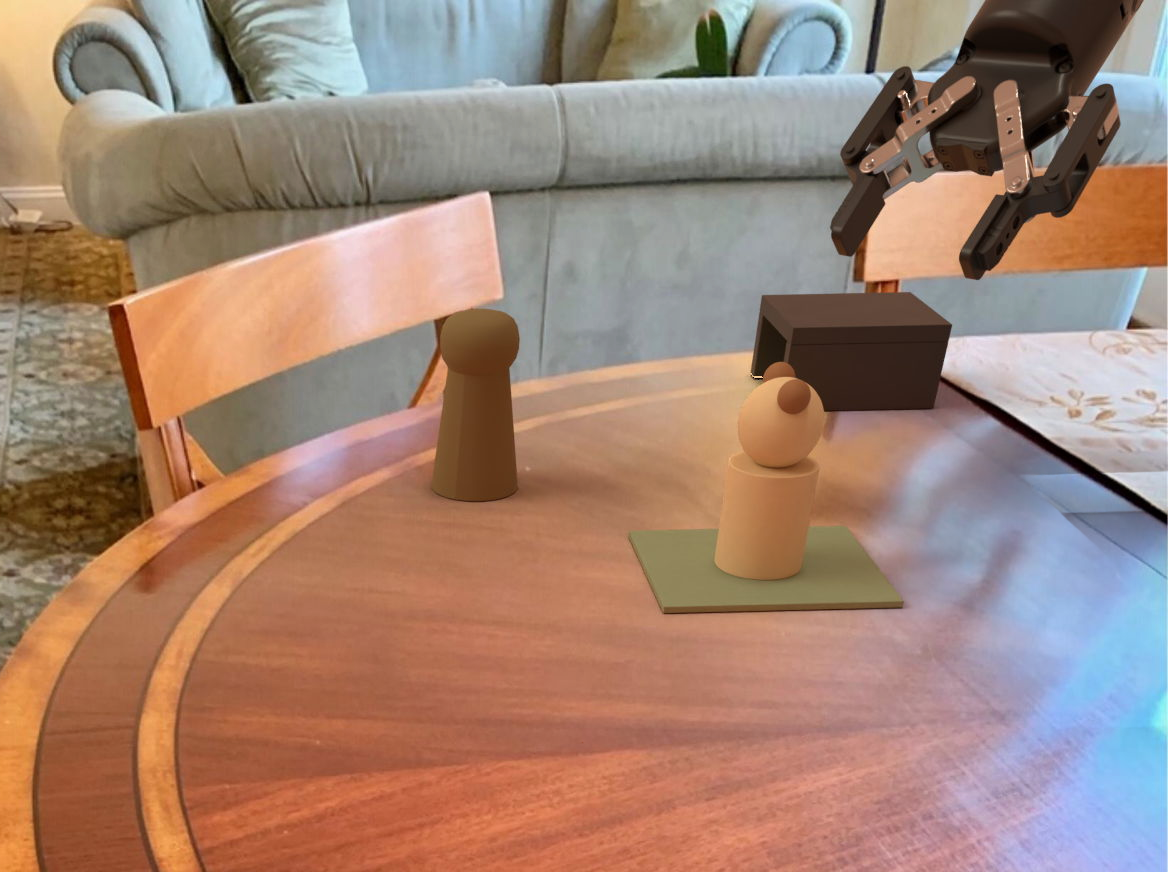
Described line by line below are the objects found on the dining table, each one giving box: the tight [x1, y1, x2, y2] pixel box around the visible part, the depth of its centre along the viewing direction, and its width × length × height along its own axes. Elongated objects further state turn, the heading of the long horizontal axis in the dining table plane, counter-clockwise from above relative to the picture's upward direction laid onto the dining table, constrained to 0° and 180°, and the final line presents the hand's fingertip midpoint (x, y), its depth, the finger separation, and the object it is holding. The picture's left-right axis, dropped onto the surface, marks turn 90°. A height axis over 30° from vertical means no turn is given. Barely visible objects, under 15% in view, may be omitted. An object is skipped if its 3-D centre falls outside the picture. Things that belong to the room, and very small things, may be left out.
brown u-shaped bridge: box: [750, 291, 953, 412], centre depth 116 cm, size 12×10×6 cm
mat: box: [628, 525, 905, 614], centre depth 90 cm, size 14×12×1 cm
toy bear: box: [714, 362, 825, 580], centre depth 86 cm, size 5×5×11 cm
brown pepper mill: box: [430, 308, 521, 502], centre depth 98 cm, size 6×6×11 cm
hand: (901, 258), depth 84 cm, fingers open, 8 cm apart
